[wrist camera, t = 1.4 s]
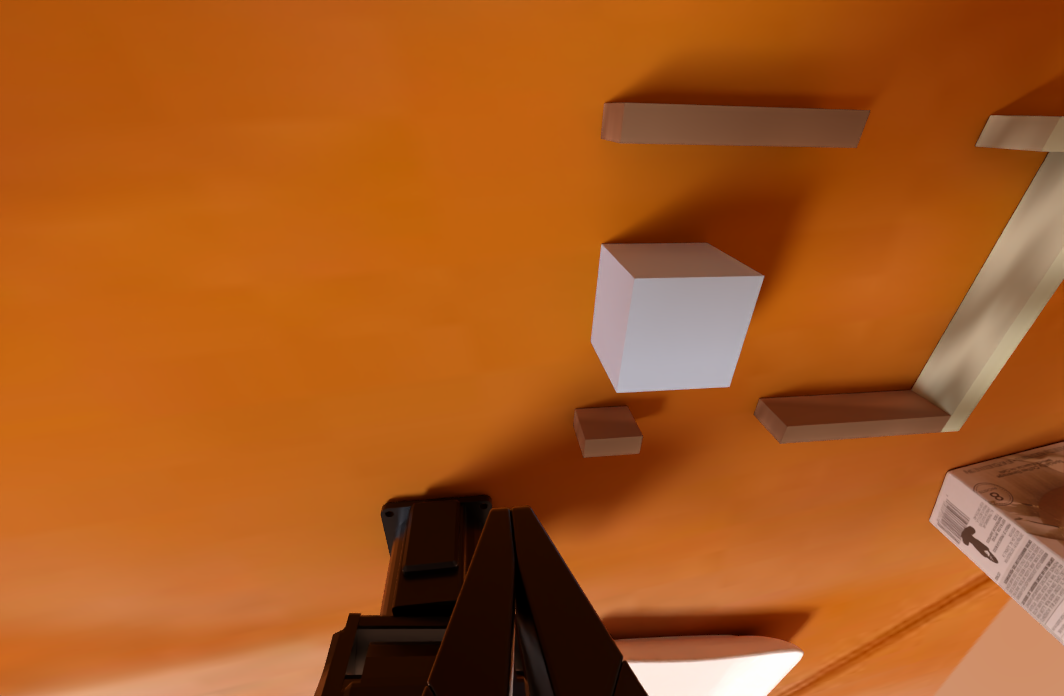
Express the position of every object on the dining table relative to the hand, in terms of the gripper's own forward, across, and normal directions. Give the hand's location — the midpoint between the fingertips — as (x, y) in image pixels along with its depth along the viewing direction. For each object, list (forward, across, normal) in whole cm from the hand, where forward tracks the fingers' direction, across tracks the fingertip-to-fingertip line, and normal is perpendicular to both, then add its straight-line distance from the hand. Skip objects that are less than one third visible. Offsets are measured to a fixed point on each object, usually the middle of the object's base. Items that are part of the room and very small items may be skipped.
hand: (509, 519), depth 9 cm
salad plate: (+13, -14, +41) cm, 45 cm away
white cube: (+12, -8, 0) cm, 14 cm away
